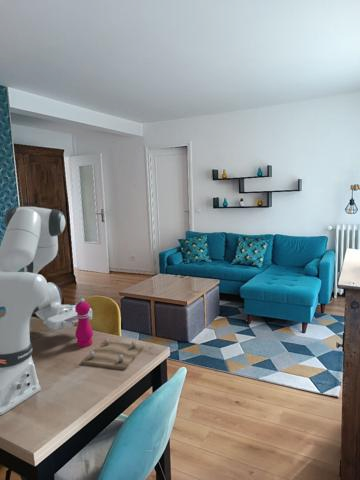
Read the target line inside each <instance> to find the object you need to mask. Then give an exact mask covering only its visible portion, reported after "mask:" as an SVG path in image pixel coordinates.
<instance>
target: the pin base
mask: <svg viewBox="0 0 360 480" xmlns="http://www.w3.org/2000/svg"><path fill="white" fill-rule="evenodd" d="M142 350H144V345H142V344H136V341H135V340H133V341H131V343H126V342H115V341H109V338H108V337H107V338H104V341H102V342H101V343H99V344H98V346H96V347H95V348H94V349H93V350H91V351H89V353H88V354H87V355H86V356H85V357H84V358H83V359H82V360H80V364H81V365H84V366H85V365H86V366H91V367H93V366H94V367H101V368H109V369H117V370H123V371H124V370H126V369H127V368H128V367H129V366H130V365H131V364H132V363H133V361H134V360H135V359H136V358H137V357H138V356H139V354H140V353H141V352H142Z"/></svg>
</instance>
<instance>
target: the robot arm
mask: <svg viewBox="0 0 360 480" xmlns="http://www.w3.org/2000/svg"><path fill="white" fill-rule="evenodd" d="M66 223H67V222H66V216H65V214H64V213H63V212H62V211H61V210H58V209H54V208H53V209H50V208H45V207H37V206H20V205H17V206H16V205H15V206H11V207H9V208H8V209H7V211H6V212H5V215H4V226H5V231H4V235H3V237H2V240H1V242H0V243H1V244H0V308H2V307H3V308H5V315H3V316H1V317H0V416H2V415H4V414H5V413H7V412H8V411H11V409H13V408H16V406H18V405H20V404H21V403H23V402H24V401H26V400H27V399H30V397H33V395H35V394H37V393H38V392H40V391H41V389H42V388H41V385H40V384H39V382H40V381H39V379H38V375H37V372H36V370H37V369H36V366H35V364H34V360H33V346H32V345H33V344H32V342H31V337H30V336H31V335H30V322H31V321H30V320H31V317H32V315H34V314H36V316H37V317H38V318H39V319H41V320H42V321H43V322H42V324H43V325H45V326H47V327H48V328H49V329H51V330H53V331H57V330H60V329H62V328H73V327H75V324H76V323H78V318H77V312H76V311H75V307H76V305H77V304H78V303H72V304H71V303H70V304H62V302H63V300H62V299H63V295H62V294H63V293H62V289H61V288H60V287H59V286H58V285H57V284H56V283H54V282H52V281H50V282H49V281H48V282H47V279H46V278H45V277H44V276H43V275H42V274H39V272H40V271H41V270H42V269H43V268H44V267H45V266H47V265H49V263H50V262H52V261H53V260H54V259H55V258H56V256H57V255H58V251H59V242H58V241H59V240H58V238H59V237H58V236H60V235H62V234H63V232H64V230H65V227H66ZM20 270H21V271H20ZM91 320H93V309H92V308H91V307H90V310H89V317H88V321H91Z"/></svg>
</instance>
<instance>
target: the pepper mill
mask: <svg viewBox="0 0 360 480" xmlns="http://www.w3.org/2000/svg"><path fill="white" fill-rule="evenodd" d="M76 304H77V305H76V307H75V311H76V312H77V318H78V322H77V327H76V330H75V337H74V338H75V339H76V340H77V341H76V345H77V347H78V348H79V347H80V348H85V347H90V346H91V345H92V344H93V338H92V337H93V335H94V331H93V329H92V326H91V325H90V322H89V321H90V320H88V317H89V310H90V308H91V306H90V303H88V302H87V301H85V299H84V298H80V300H79V302H78V303H76Z"/></svg>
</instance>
